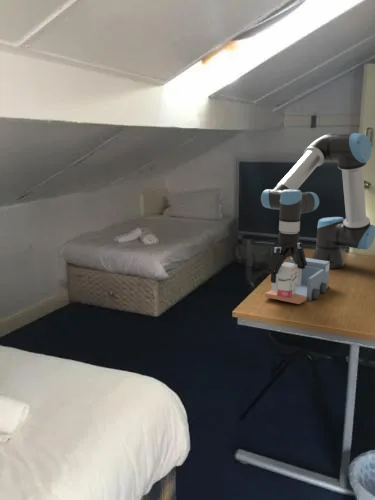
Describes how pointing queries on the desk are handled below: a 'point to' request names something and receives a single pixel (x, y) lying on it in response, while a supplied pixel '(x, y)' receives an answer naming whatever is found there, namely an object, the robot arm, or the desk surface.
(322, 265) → the pickup bed
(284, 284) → the ink box
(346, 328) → the desk surface
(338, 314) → the desk surface
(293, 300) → the tailgate
